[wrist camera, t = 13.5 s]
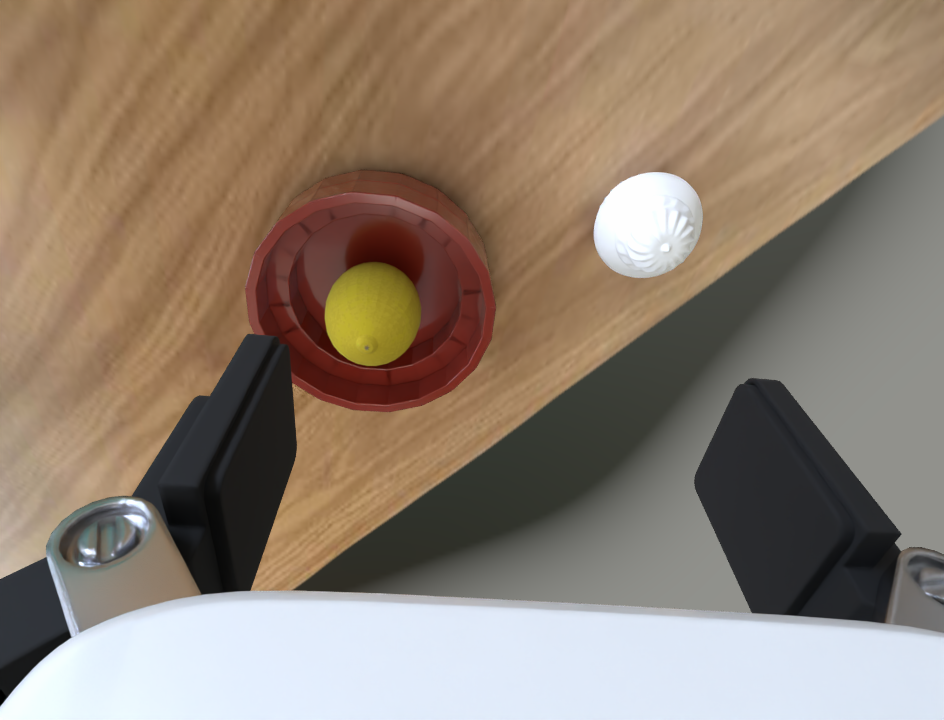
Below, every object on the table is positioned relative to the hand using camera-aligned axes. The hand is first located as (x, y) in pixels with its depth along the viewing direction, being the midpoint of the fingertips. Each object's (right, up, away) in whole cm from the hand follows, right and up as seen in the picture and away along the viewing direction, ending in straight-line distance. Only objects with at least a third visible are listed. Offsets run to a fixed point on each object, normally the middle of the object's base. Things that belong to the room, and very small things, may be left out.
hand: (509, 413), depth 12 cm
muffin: (+9, +11, +23) cm, 27 cm away
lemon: (-7, +6, +25) cm, 26 cm away
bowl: (-7, +6, +25) cm, 27 cm away
